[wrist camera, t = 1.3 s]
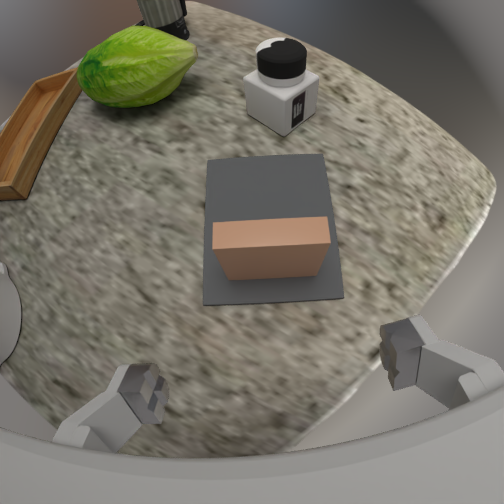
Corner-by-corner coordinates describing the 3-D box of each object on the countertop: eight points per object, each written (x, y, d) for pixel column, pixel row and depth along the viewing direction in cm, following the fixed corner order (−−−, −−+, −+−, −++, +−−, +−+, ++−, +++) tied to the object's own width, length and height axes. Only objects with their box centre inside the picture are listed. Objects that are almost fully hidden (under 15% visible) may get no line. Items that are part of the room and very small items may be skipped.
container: (316, 112, 45) (323, 46, 33) (283, 138, 43) (284, 68, 31) (279, 91, 47) (278, 27, 35) (246, 114, 45) (238, 47, 33)
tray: (44, 94, 56) (33, 79, 51) (89, 82, 55) (79, 65, 49) (-13, 203, 46) (-29, 190, 40) (29, 201, 44) (10, 185, 39)
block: (228, 280, 36) (212, 249, 26) (228, 258, 37) (212, 220, 27) (316, 275, 35) (330, 242, 26) (314, 254, 36) (327, 214, 27)
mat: (203, 305, 35) (202, 304, 35) (208, 162, 42) (207, 160, 42) (343, 298, 35) (344, 297, 34) (322, 156, 42) (322, 153, 41)
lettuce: (207, 55, 51) (202, 114, 47) (103, 76, 52) (85, 135, 49) (193, -3, 37) (181, 51, 33) (74, 31, 38) (44, 90, 35)
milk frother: (187, 45, 55) (173, -10, 41) (120, 60, 56) (99, 11, 42) (193, 19, 60) (182, -29, 46) (134, 32, 61) (118, -12, 47)
